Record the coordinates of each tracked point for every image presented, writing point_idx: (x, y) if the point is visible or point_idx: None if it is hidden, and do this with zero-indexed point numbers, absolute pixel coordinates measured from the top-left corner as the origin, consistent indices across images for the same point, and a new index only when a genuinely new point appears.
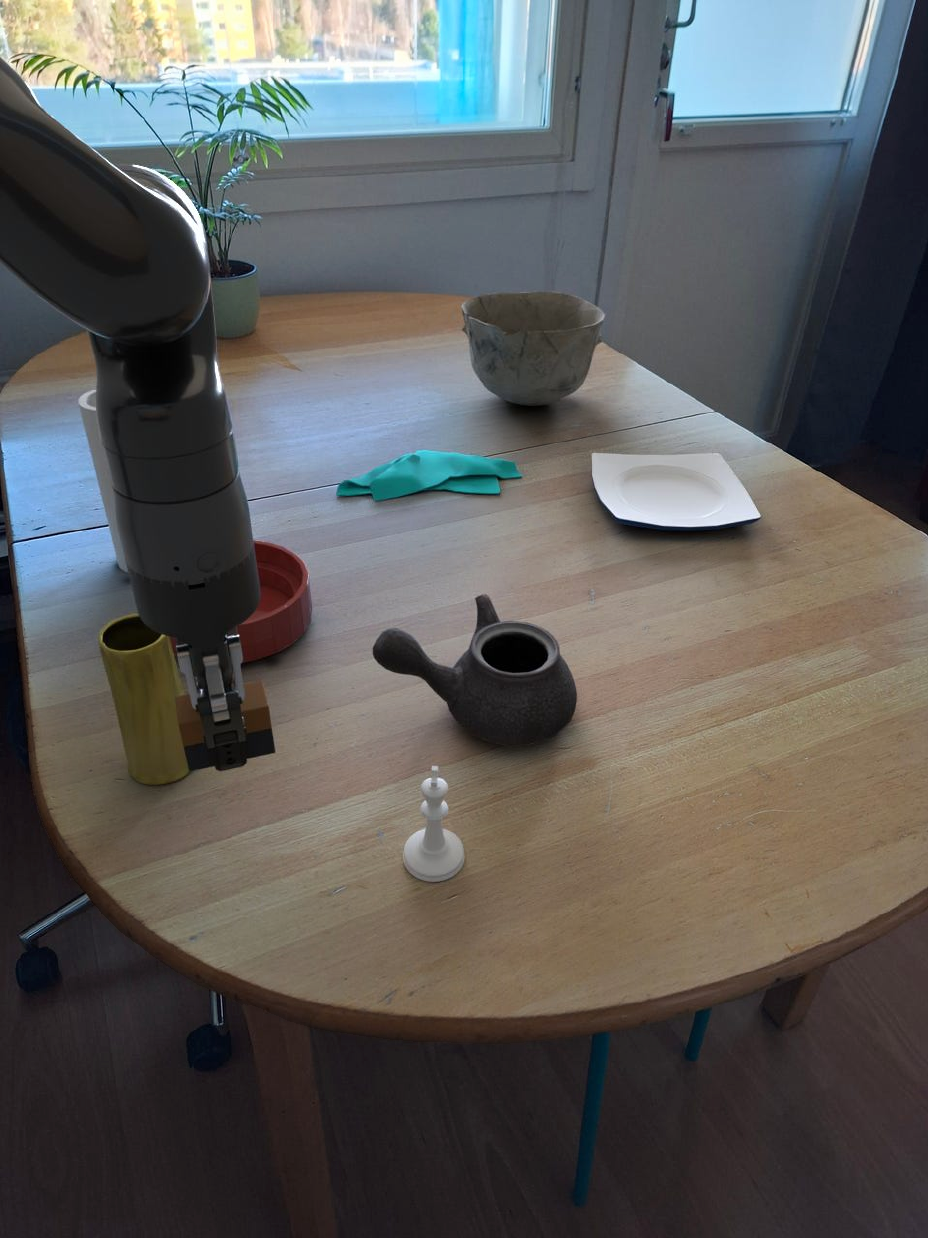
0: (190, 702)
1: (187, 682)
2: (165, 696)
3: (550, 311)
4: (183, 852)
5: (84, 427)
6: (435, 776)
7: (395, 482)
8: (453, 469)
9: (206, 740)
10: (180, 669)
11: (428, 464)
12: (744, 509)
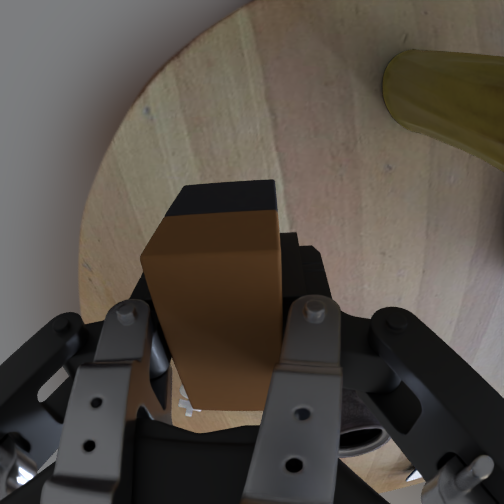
0: (235, 292)
1: (60, 446)
2: (464, 135)
3: None
4: (266, 96)
5: None
6: (186, 407)
7: None
8: None
9: (24, 345)
10: (44, 491)
11: None
12: (417, 476)
